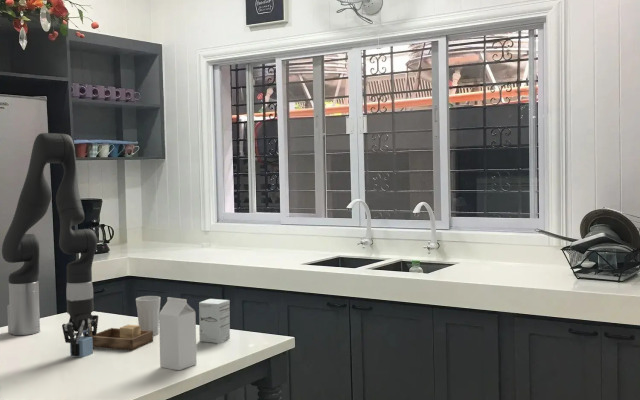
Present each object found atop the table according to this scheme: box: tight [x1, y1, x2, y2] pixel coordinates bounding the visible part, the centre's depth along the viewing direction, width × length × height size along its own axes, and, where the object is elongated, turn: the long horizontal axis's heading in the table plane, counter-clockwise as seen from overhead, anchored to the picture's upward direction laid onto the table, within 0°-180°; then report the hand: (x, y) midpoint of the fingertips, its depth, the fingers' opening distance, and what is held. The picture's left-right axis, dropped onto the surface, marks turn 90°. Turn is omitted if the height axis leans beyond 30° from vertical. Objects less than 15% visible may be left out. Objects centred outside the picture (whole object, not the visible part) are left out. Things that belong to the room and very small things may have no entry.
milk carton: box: [158, 296, 198, 371], centre depth 197 cm, size 7×7×19 cm
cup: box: [135, 295, 161, 337], centre depth 235 cm, size 8×8×12 cm
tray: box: [92, 327, 154, 352], centre depth 222 cm, size 16×12×3 cm
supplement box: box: [198, 298, 231, 344], centre depth 226 cm, size 7×7×13 cm
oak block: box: [119, 324, 141, 339], centre depth 221 cm, size 4×4×5 cm
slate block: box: [69, 335, 94, 358], centre depth 211 cm, size 4×4×5 cm
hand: (81, 353), depth 211 cm, fingers open, 5 cm apart
